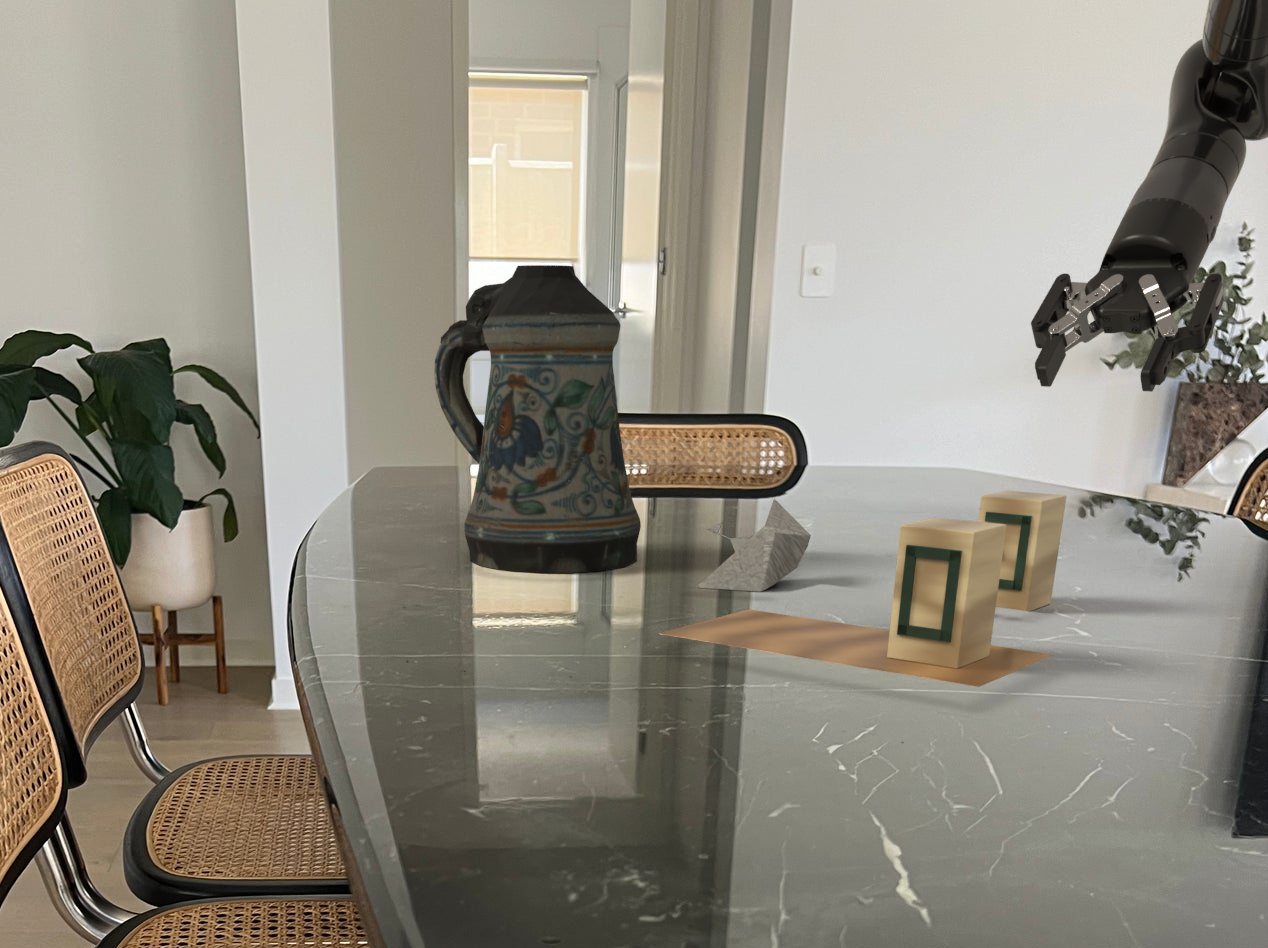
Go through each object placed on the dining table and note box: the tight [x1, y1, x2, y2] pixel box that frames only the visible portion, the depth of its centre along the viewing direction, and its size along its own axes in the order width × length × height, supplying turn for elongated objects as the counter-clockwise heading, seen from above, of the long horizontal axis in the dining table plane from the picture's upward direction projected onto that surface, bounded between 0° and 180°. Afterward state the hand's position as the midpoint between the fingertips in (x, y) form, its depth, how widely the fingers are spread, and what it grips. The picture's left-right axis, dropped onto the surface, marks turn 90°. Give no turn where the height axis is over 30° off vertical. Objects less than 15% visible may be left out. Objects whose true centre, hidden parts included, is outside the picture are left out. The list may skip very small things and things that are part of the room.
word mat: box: [658, 609, 1053, 688], centre depth 101 cm, size 24×12×1 cm, turn 51°
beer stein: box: [433, 264, 641, 574], centre depth 133 cm, size 16×19×25 cm
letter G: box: [977, 490, 1068, 612], centre depth 117 cm, size 5×5×8 cm
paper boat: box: [695, 498, 812, 592], centre depth 126 cm, size 12×6×9 cm
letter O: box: [887, 517, 1007, 669], centre depth 95 cm, size 5×5×8 cm
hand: (1093, 381), depth 120 cm, fingers open, 8 cm apart
